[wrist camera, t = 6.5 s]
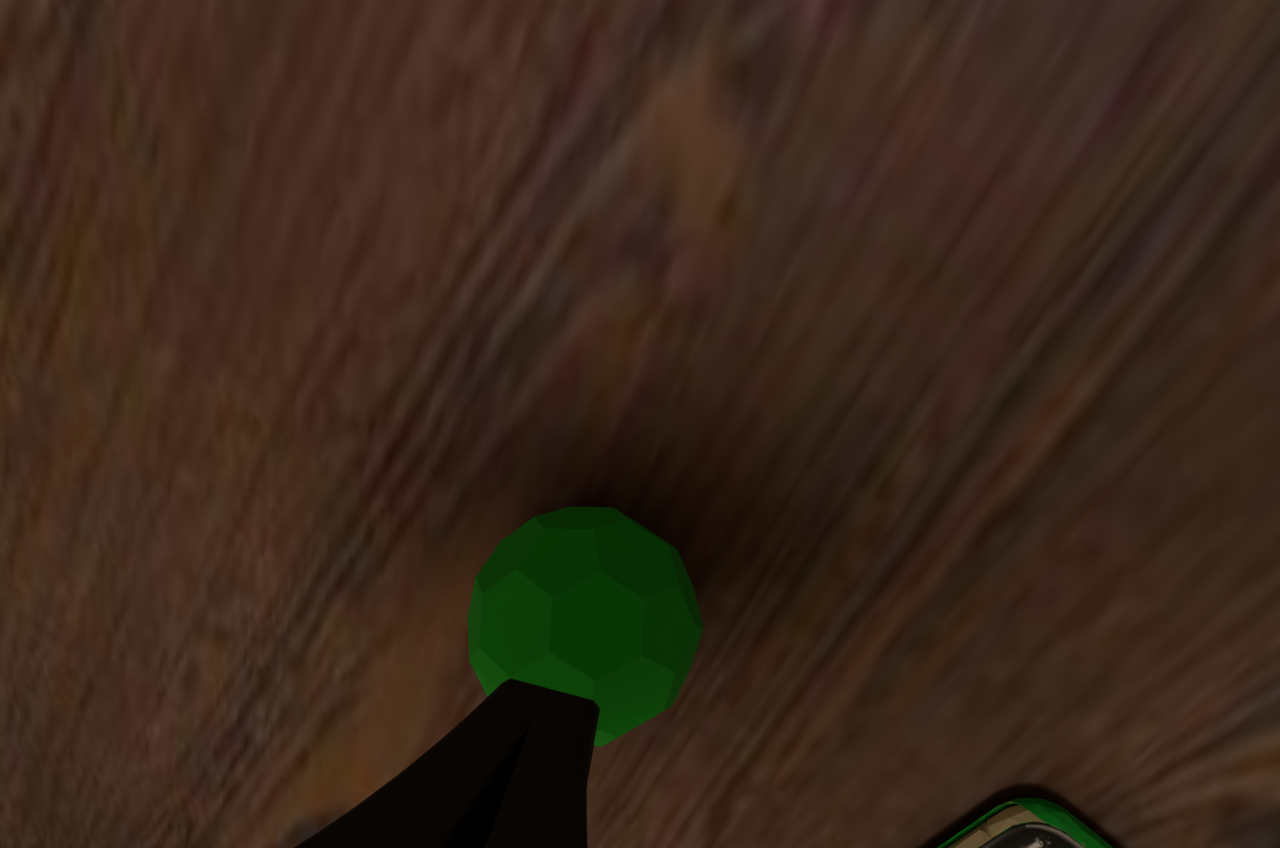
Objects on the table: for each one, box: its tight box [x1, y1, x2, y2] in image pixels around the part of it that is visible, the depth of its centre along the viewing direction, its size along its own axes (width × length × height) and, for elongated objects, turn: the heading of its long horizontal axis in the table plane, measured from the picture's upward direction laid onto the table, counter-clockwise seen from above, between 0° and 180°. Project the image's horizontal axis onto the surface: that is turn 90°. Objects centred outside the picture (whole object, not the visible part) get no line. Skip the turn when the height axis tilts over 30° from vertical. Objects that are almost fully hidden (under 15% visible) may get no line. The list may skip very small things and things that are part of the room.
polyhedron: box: [468, 507, 704, 746], centre depth 19 cm, size 5×5×5 cm
